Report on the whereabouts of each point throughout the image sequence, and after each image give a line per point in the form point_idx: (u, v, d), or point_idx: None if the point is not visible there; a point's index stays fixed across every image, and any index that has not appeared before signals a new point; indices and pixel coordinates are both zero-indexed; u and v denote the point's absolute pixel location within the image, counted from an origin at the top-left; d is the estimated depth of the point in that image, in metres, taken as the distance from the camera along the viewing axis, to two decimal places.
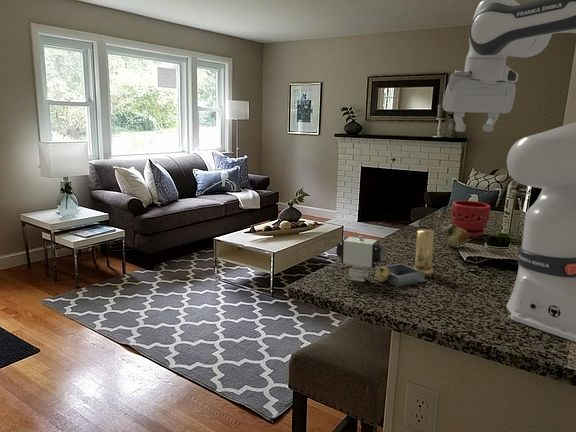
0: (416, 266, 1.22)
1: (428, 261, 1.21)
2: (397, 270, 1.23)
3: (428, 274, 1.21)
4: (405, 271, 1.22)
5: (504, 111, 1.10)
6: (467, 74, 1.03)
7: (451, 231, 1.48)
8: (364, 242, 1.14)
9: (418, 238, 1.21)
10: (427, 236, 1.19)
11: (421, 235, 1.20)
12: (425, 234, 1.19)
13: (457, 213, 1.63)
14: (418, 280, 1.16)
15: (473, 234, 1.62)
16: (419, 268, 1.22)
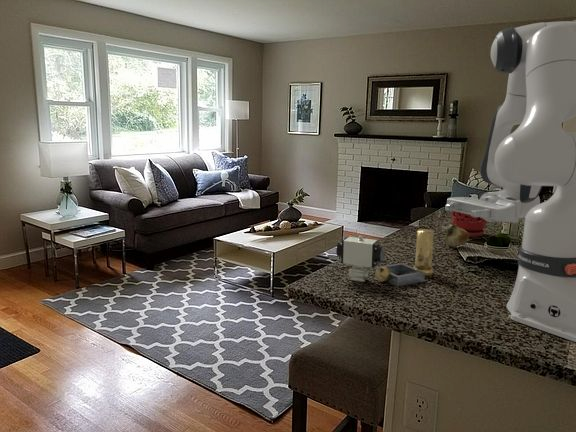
0: (416, 266, 1.22)
1: (428, 261, 1.21)
2: (397, 270, 1.23)
3: (428, 274, 1.21)
4: (405, 271, 1.22)
5: (495, 207, 1.20)
6: None
7: (451, 231, 1.48)
8: (364, 241, 1.14)
9: (418, 238, 1.21)
10: (427, 236, 1.19)
11: (421, 235, 1.20)
12: (425, 234, 1.19)
13: (457, 213, 1.63)
14: (418, 280, 1.16)
15: (473, 234, 1.62)
16: (419, 268, 1.22)
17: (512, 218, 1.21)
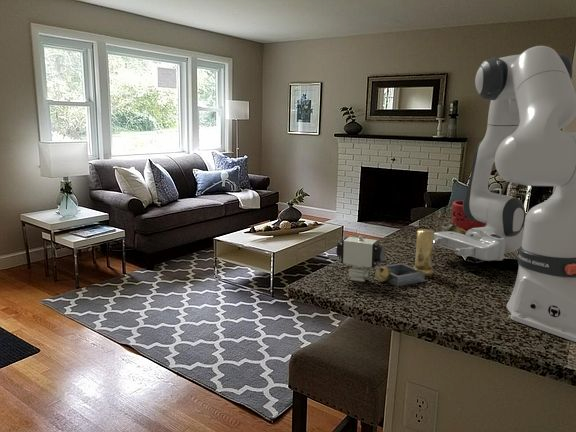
0: (416, 266, 1.22)
1: (428, 261, 1.21)
2: (397, 270, 1.23)
3: (428, 274, 1.21)
4: (405, 271, 1.22)
5: (479, 246, 1.20)
6: None
7: (451, 231, 1.48)
8: (364, 241, 1.14)
9: (418, 238, 1.21)
10: (427, 236, 1.19)
11: (421, 235, 1.20)
12: (425, 234, 1.19)
13: (457, 213, 1.63)
14: (418, 280, 1.16)
15: None
16: (419, 268, 1.22)
17: (496, 256, 1.21)
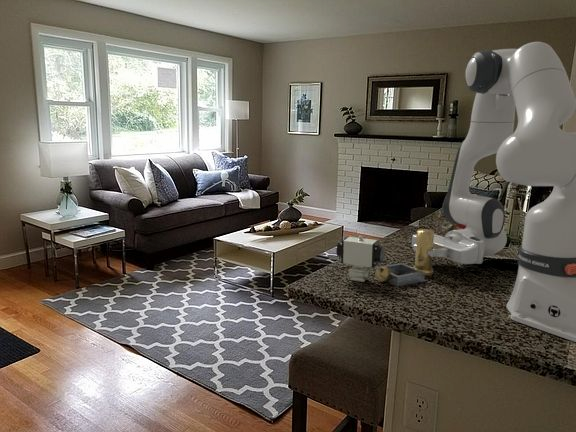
0: (416, 266, 1.22)
1: (428, 261, 1.21)
2: (397, 270, 1.23)
3: (428, 274, 1.21)
4: (405, 271, 1.22)
5: (457, 249, 1.17)
6: None
7: None
8: (364, 241, 1.14)
9: (418, 238, 1.21)
10: (427, 236, 1.19)
11: (421, 235, 1.20)
12: (425, 234, 1.19)
13: None
14: (418, 280, 1.16)
15: None
16: (419, 268, 1.21)
17: (475, 260, 1.18)
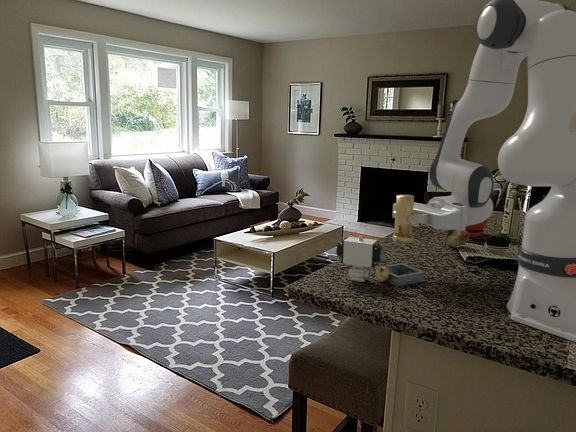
0: (395, 233, 1.16)
1: (407, 228, 1.14)
2: (397, 270, 1.23)
3: (408, 241, 1.14)
4: (405, 271, 1.22)
5: (437, 214, 1.10)
6: None
7: (451, 231, 1.48)
8: (364, 241, 1.14)
9: (397, 203, 1.14)
10: (407, 200, 1.12)
11: (400, 200, 1.13)
12: (404, 198, 1.12)
13: None
14: (418, 280, 1.16)
15: (473, 234, 1.62)
16: (398, 235, 1.15)
17: (457, 225, 1.11)
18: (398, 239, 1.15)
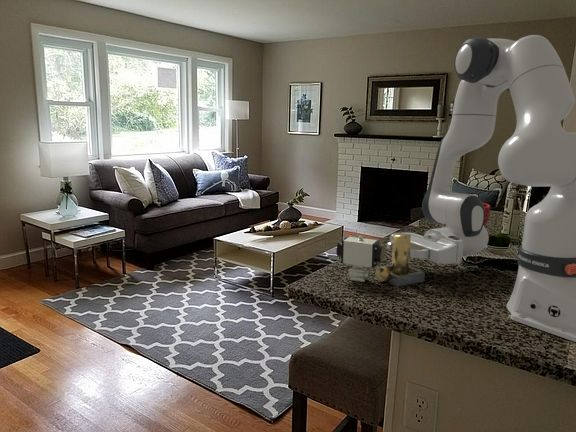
0: (392, 272, 1.18)
1: (404, 267, 1.16)
2: None
3: None
4: None
5: (434, 248, 1.12)
6: None
7: None
8: (364, 241, 1.14)
9: (394, 242, 1.16)
10: (403, 240, 1.14)
11: (397, 240, 1.15)
12: (401, 238, 1.14)
13: None
14: (418, 280, 1.16)
15: None
16: None
17: (453, 260, 1.13)
18: None
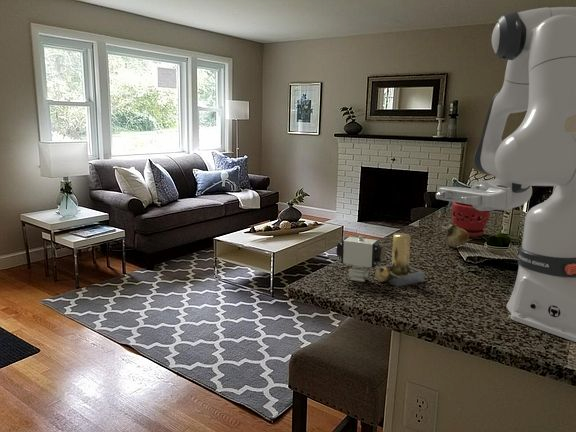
0: (392, 272, 1.18)
1: (404, 267, 1.16)
2: None
3: None
4: None
5: (485, 194, 1.19)
6: None
7: (451, 231, 1.48)
8: (364, 242, 1.14)
9: (394, 243, 1.16)
10: (403, 240, 1.14)
11: (397, 240, 1.15)
12: (401, 239, 1.14)
13: (457, 213, 1.63)
14: (418, 280, 1.16)
15: (473, 234, 1.62)
16: None
17: (503, 205, 1.20)
18: None
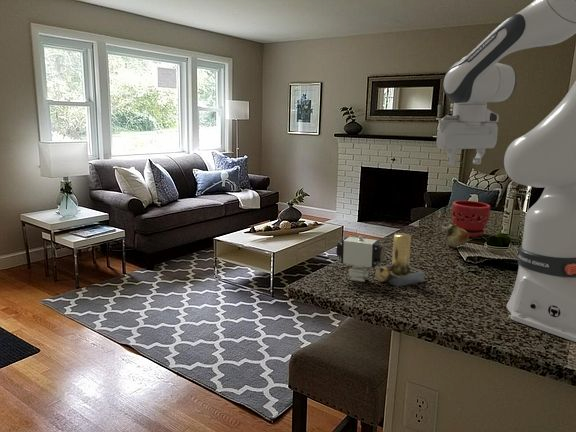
0: (393, 272, 1.18)
1: (405, 267, 1.16)
2: None
3: None
4: None
5: (490, 147, 1.29)
6: (455, 117, 1.23)
7: (451, 231, 1.48)
8: (364, 241, 1.14)
9: (395, 243, 1.16)
10: (404, 240, 1.14)
11: (398, 240, 1.15)
12: (402, 239, 1.14)
13: (457, 213, 1.63)
14: (418, 280, 1.16)
15: (473, 234, 1.62)
16: (396, 274, 1.17)
17: None
18: None
